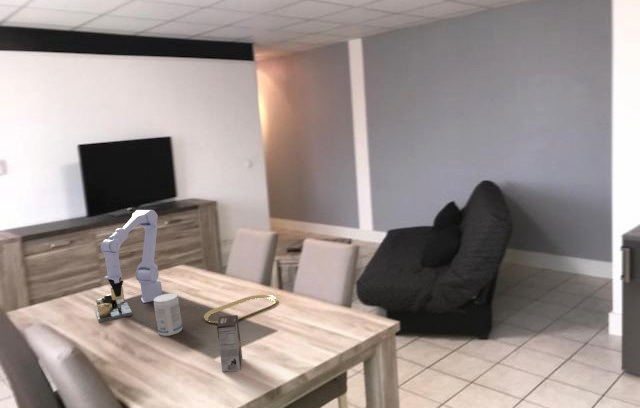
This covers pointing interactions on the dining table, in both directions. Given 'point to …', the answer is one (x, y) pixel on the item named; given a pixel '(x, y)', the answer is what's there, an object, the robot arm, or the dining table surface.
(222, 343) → the coffee box
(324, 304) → the dining table surface
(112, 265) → the robot arm
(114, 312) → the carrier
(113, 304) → the pneumatic valve
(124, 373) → the dining table surface
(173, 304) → the supplement tub
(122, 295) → the tan hollow octagonal prism
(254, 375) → the dining table surface
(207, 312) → the loop handle
